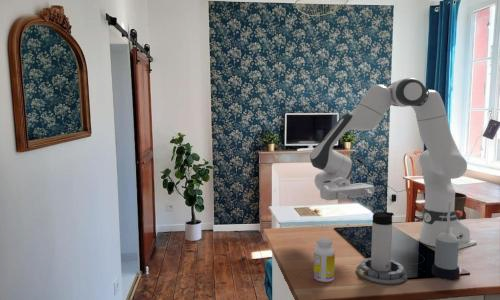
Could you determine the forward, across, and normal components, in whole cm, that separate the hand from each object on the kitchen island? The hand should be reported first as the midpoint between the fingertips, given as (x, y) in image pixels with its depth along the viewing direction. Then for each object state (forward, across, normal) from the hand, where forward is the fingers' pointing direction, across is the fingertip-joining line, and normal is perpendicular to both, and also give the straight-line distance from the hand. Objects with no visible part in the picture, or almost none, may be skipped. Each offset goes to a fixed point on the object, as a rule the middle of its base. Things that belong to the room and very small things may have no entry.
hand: (359, 196), depth 135 cm
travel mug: (+13, 0, -23) cm, 26 cm away
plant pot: (-21, -61, -27) cm, 70 cm away
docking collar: (+14, 0, -24) cm, 27 cm away
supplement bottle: (+11, +20, -23) cm, 33 cm away
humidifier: (+20, -20, -25) cm, 37 cm away
